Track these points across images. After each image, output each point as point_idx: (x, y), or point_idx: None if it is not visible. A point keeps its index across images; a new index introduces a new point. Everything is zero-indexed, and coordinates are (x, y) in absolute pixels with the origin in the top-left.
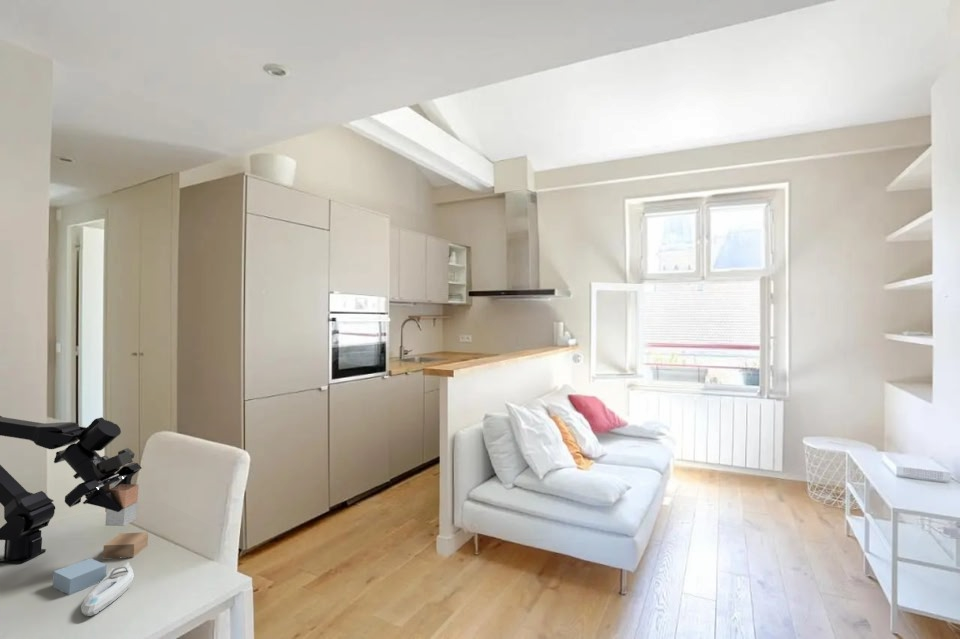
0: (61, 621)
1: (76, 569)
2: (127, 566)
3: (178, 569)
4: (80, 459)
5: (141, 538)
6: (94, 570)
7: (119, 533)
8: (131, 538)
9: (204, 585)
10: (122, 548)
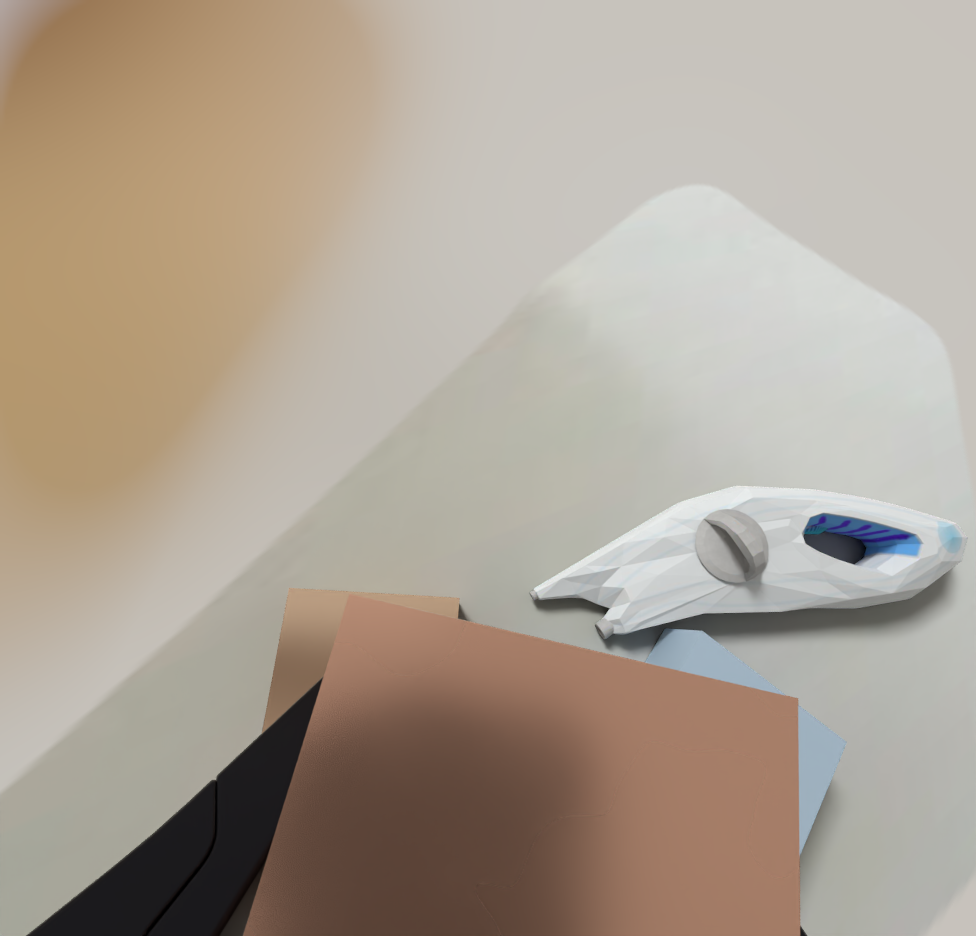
0: (948, 634)
1: None
2: (620, 557)
3: (598, 371)
4: None
5: (375, 593)
6: (747, 667)
7: None
8: None
9: (715, 265)
10: None
